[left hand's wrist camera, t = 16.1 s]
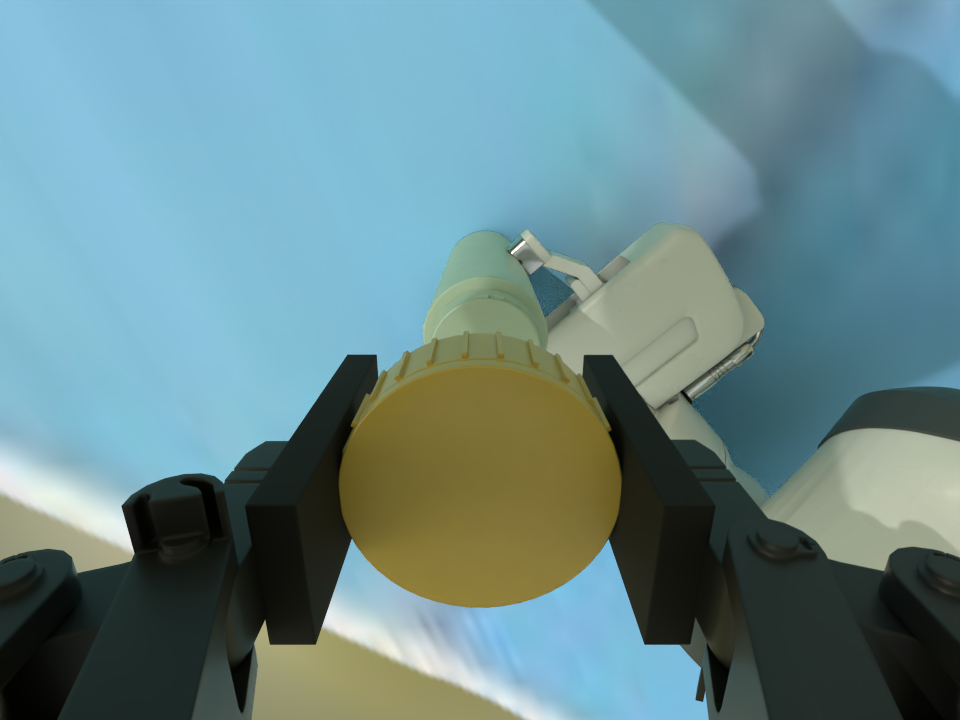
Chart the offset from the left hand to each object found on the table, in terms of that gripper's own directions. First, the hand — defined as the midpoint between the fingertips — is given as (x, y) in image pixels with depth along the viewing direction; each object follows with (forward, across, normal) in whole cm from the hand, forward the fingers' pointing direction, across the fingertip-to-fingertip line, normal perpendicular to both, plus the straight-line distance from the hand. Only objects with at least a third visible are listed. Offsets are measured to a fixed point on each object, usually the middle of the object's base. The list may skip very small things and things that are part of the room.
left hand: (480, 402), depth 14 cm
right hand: (+16, 0, 0) cm, 16 cm away
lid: (-4, 0, 0) cm, 4 cm away
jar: (+22, 0, 0) cm, 22 cm away
